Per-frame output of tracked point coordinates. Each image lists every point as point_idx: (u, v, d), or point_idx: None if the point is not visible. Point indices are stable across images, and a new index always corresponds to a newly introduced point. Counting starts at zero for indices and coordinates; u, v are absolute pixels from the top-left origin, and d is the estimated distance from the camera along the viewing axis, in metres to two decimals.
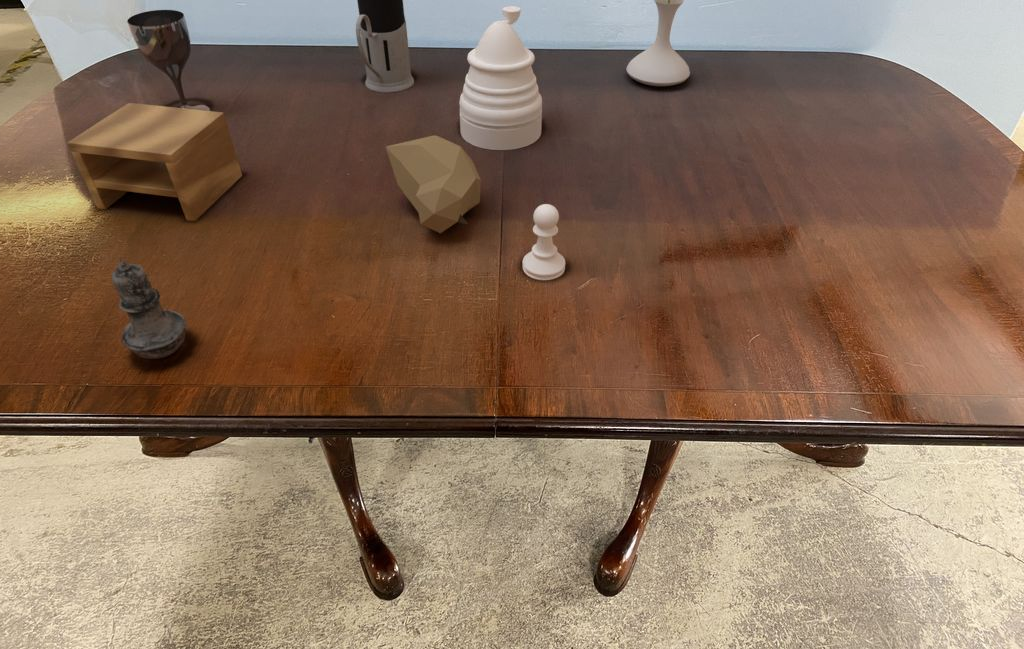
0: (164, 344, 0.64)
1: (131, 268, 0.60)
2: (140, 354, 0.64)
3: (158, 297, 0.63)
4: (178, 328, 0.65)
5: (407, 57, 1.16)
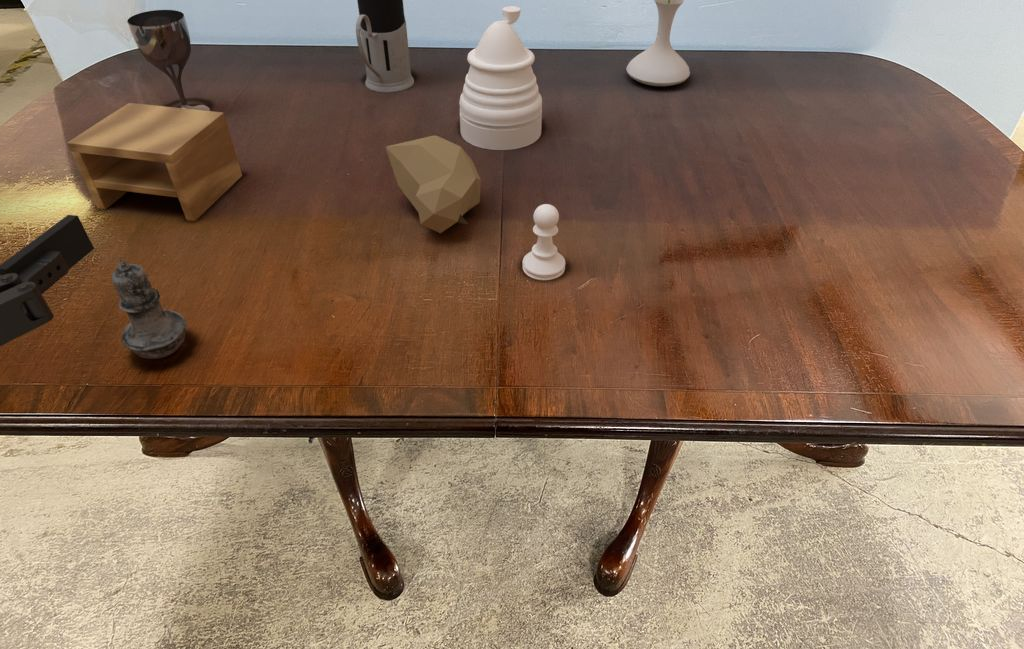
0: (164, 344, 0.64)
1: (131, 268, 0.60)
2: (140, 354, 0.64)
3: (158, 297, 0.63)
4: (178, 328, 0.65)
5: (407, 57, 1.16)
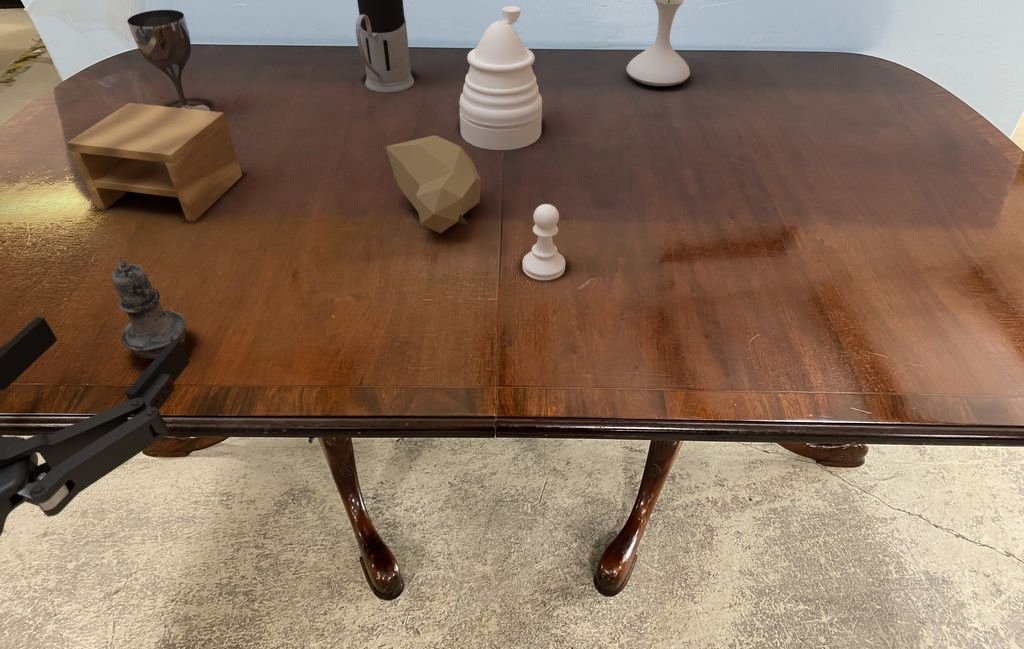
0: (164, 344, 0.64)
1: (131, 268, 0.60)
2: (140, 354, 0.64)
3: (158, 297, 0.63)
4: (178, 328, 0.65)
5: (407, 57, 1.16)
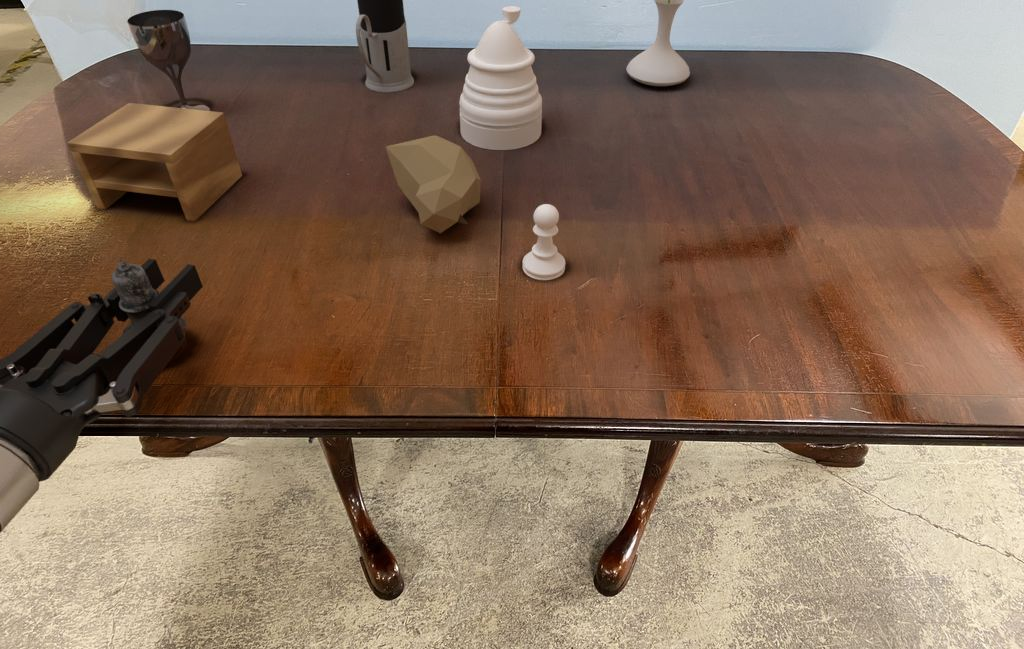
0: None
1: (131, 268, 0.60)
2: None
3: None
4: None
5: (407, 57, 1.16)
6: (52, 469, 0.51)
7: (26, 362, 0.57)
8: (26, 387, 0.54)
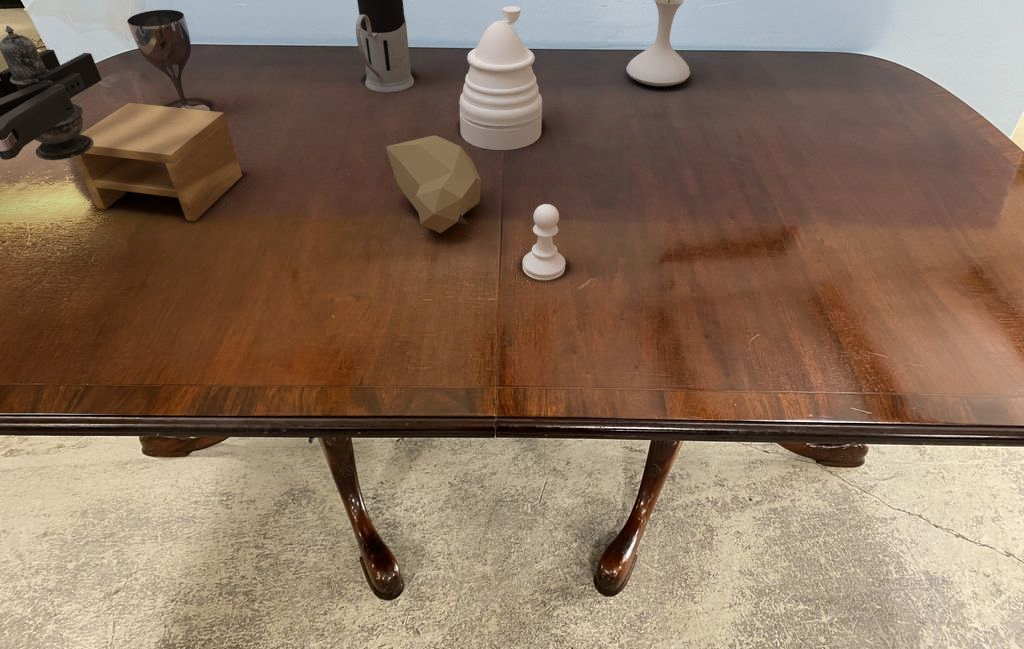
0: (57, 124, 0.64)
1: (19, 37, 0.61)
2: None
3: None
4: (73, 113, 0.66)
5: (407, 57, 1.16)
6: None
7: None
8: None
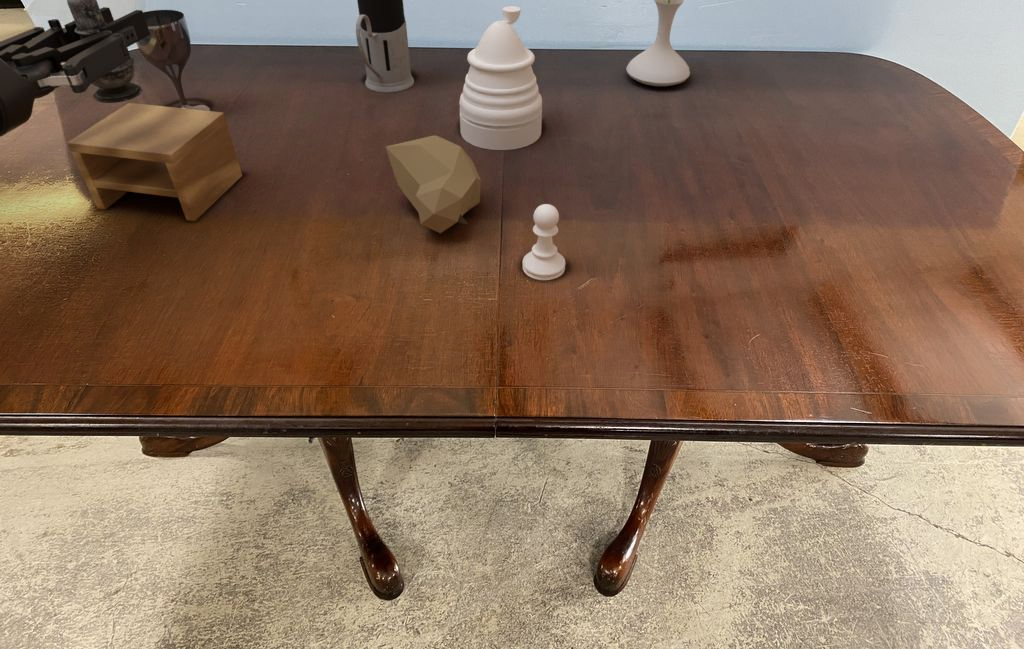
0: (114, 70, 0.74)
1: None
2: None
3: None
4: (127, 61, 0.76)
5: (407, 57, 1.16)
6: (10, 118, 0.62)
7: None
8: None
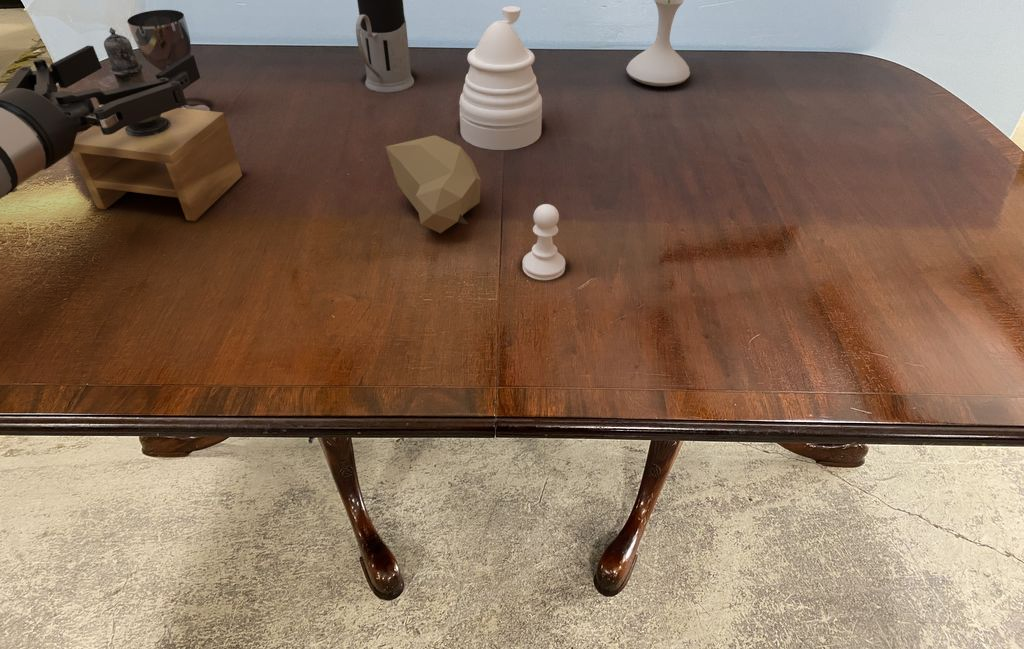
0: None
1: (119, 36, 0.77)
2: None
3: (141, 67, 0.79)
4: None
5: (407, 57, 1.16)
6: (55, 153, 0.67)
7: None
8: None
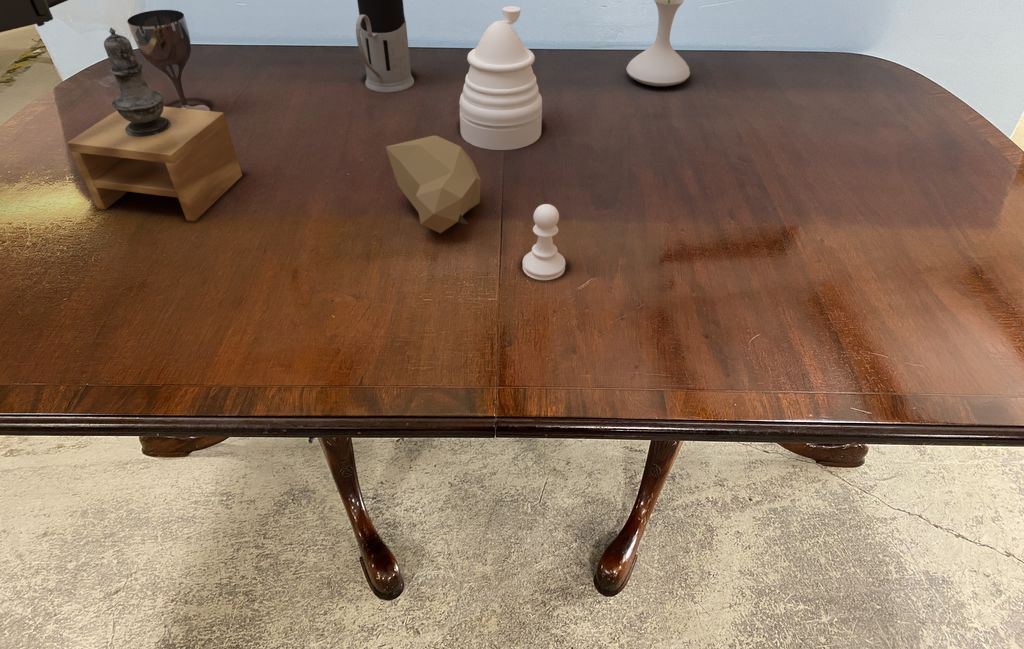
0: (146, 106, 0.80)
1: (119, 36, 0.77)
2: (127, 115, 0.80)
3: (141, 67, 0.79)
4: (157, 98, 0.82)
5: (407, 57, 1.16)
6: None
7: None
8: None
